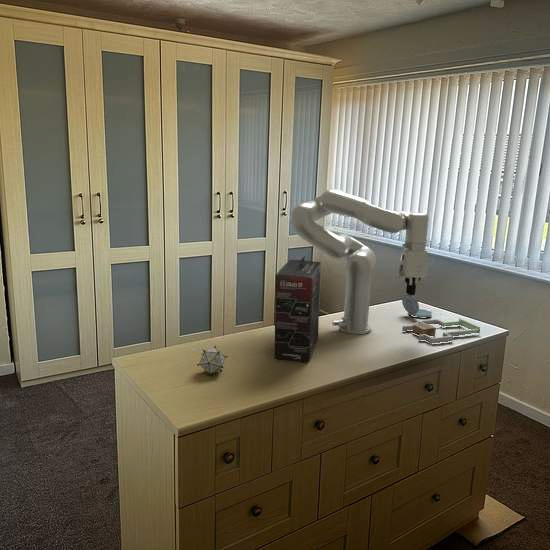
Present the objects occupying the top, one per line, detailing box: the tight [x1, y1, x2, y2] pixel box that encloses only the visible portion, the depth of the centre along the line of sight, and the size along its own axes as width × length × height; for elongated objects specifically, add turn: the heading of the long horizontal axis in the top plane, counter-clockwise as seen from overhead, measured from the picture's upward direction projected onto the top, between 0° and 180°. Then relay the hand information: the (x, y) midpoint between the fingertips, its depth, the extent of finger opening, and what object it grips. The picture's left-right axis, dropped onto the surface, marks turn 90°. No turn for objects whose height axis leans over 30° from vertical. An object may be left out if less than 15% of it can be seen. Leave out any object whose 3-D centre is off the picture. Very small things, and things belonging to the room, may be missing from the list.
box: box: [401, 318, 481, 344], centre depth 202 cm, size 28×20×4 cm
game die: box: [196, 345, 229, 377], centre depth 158 cm, size 9×8×10 cm
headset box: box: [273, 255, 322, 364], centre depth 177 cm, size 24×13×33 cm, turn 168°
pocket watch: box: [401, 292, 433, 318], centre depth 224 cm, size 10×11×15 cm
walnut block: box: [412, 323, 437, 337], centre depth 200 cm, size 6×6×4 cm
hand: (410, 294), depth 194 cm, fingers closed
